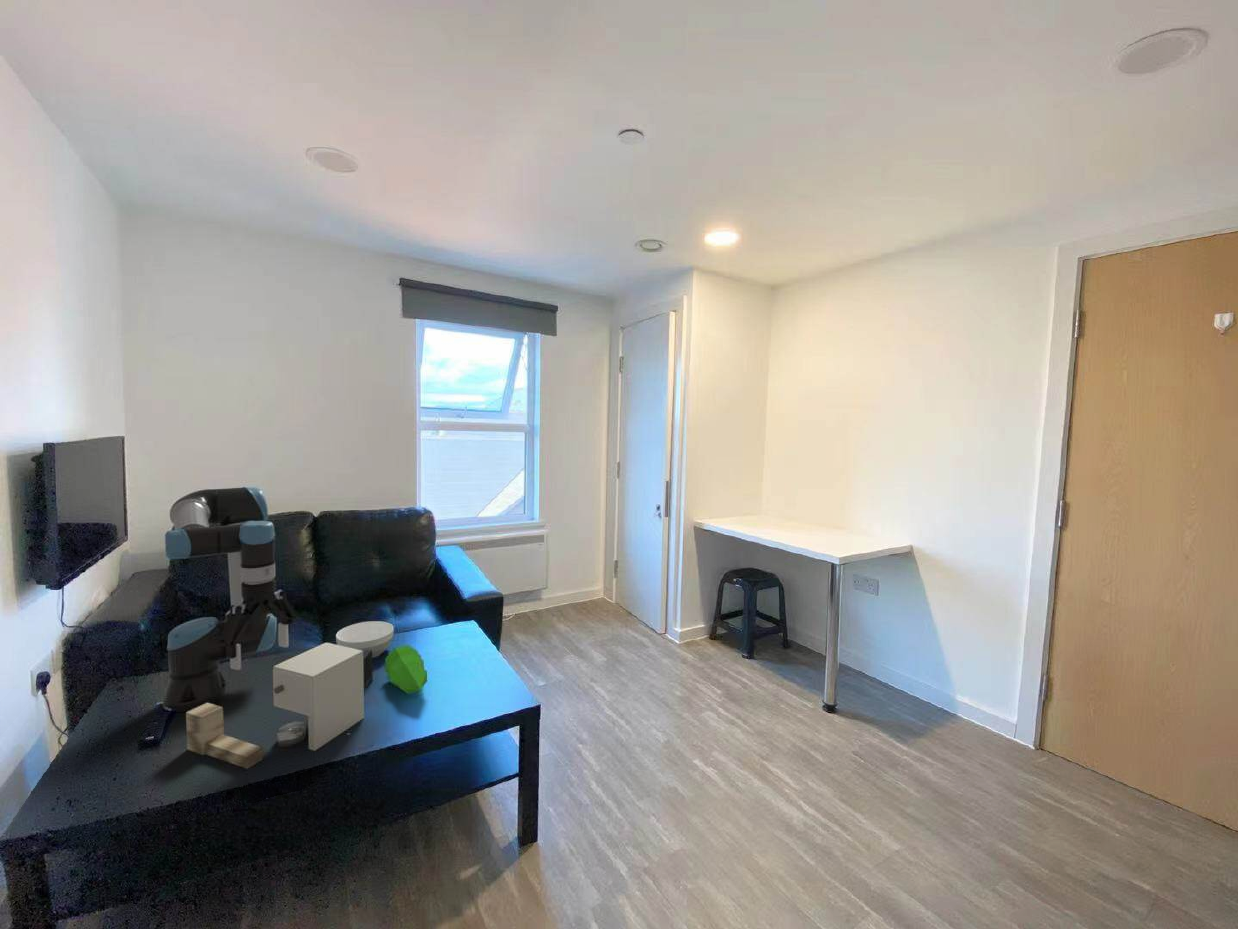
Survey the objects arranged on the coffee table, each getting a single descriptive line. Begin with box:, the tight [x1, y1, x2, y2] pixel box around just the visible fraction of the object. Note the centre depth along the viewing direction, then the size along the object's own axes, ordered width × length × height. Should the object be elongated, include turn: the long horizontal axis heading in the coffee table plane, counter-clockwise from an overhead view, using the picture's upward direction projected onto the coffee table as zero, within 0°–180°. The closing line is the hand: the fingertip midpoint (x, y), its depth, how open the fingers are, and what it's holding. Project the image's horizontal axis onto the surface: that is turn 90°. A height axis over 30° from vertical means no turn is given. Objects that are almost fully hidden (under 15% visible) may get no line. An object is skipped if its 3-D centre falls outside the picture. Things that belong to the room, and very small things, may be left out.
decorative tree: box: [384, 644, 428, 695], centre depth 165 cm, size 11×12×30 cm
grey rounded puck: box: [276, 721, 307, 747], centre depth 138 cm, size 6×6×3 cm
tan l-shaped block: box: [185, 703, 264, 769], centre depth 131 cm, size 21×5×10 cm, turn 71°
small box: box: [362, 650, 374, 690], centre depth 166 cm, size 11×6×10 cm, turn 92°
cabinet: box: [272, 642, 365, 752], centre depth 141 cm, size 14×18×20 cm
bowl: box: [335, 620, 394, 659], centre depth 187 cm, size 19×19×9 cm
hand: (260, 657), depth 139 cm, fingers open, 13 cm apart
